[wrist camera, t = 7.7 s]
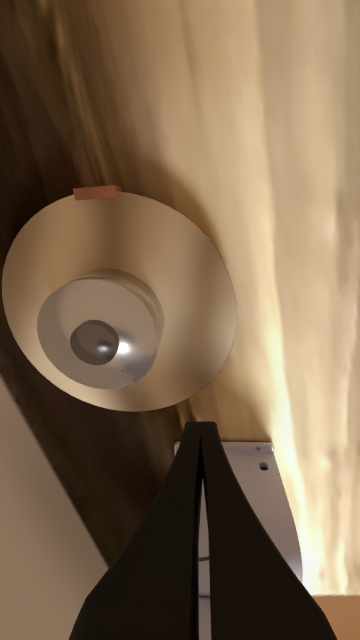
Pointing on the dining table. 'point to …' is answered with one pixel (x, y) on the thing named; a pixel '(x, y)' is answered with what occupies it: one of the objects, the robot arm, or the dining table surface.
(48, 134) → the dining table surface
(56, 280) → the turntable
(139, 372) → the cover
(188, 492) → the robot arm
